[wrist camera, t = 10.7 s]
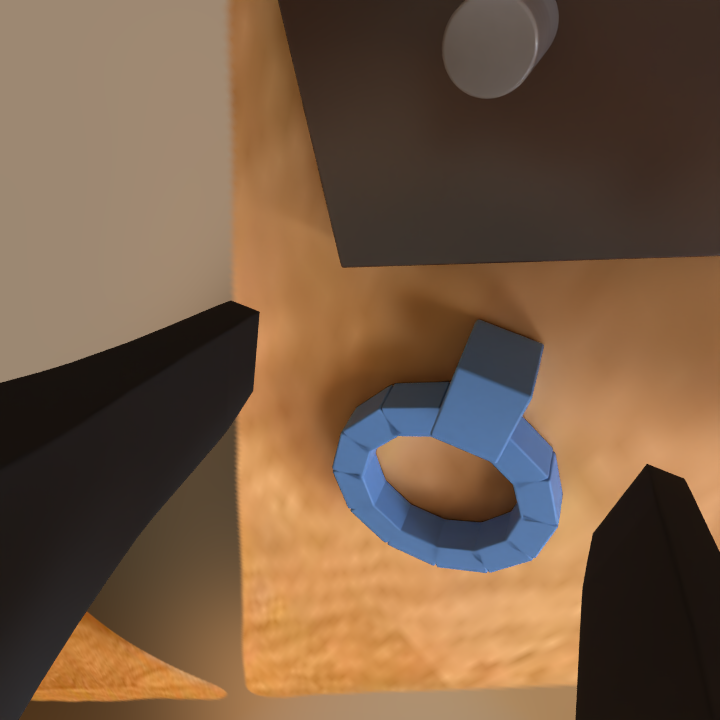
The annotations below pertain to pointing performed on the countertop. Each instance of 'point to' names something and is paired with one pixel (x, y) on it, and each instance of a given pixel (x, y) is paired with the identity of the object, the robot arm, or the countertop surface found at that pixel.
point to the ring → (467, 432)
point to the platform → (512, 127)
